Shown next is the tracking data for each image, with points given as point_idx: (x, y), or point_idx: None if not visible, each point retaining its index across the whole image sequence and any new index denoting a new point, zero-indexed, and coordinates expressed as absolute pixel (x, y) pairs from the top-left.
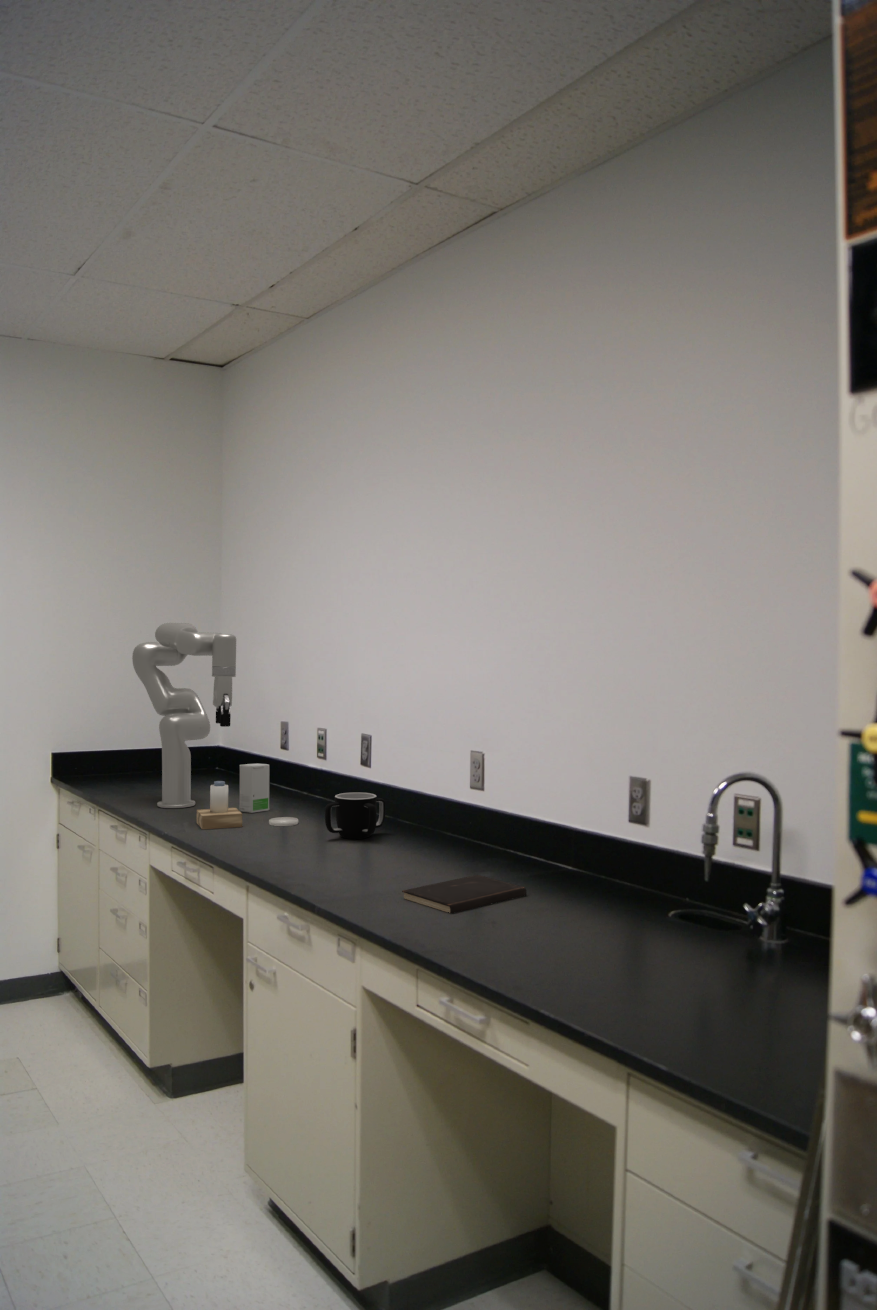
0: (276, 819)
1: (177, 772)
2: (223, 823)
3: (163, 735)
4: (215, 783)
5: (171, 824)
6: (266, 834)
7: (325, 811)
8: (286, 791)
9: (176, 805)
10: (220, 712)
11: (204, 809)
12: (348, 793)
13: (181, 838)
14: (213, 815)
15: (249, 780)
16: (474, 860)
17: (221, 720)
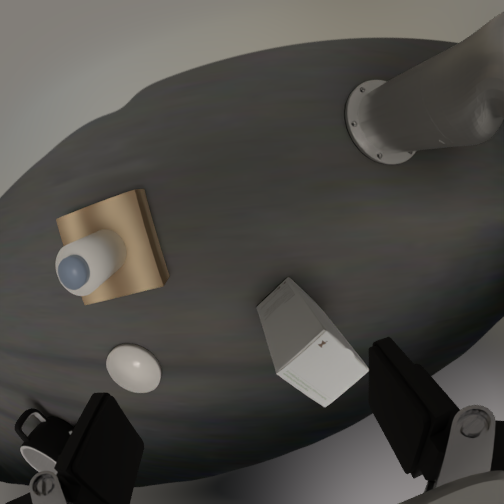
0: (134, 360)
1: (401, 104)
2: None
3: (483, 26)
4: (61, 261)
5: (128, 135)
6: (45, 333)
7: (17, 420)
8: (475, 333)
9: (347, 119)
10: (413, 444)
11: (136, 210)
12: None
13: (9, 192)
14: (63, 243)
15: (274, 340)
16: (17, 462)
17: (81, 431)
